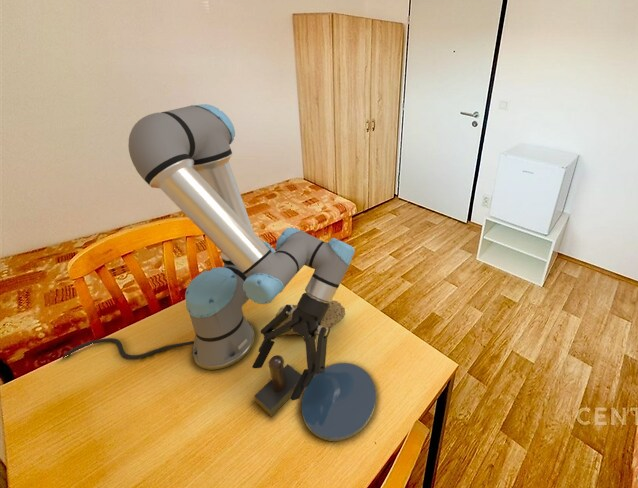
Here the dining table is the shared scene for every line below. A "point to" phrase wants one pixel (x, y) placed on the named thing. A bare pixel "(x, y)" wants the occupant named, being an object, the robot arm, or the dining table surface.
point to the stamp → (277, 386)
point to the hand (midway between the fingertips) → (275, 382)
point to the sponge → (329, 320)
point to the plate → (338, 402)
